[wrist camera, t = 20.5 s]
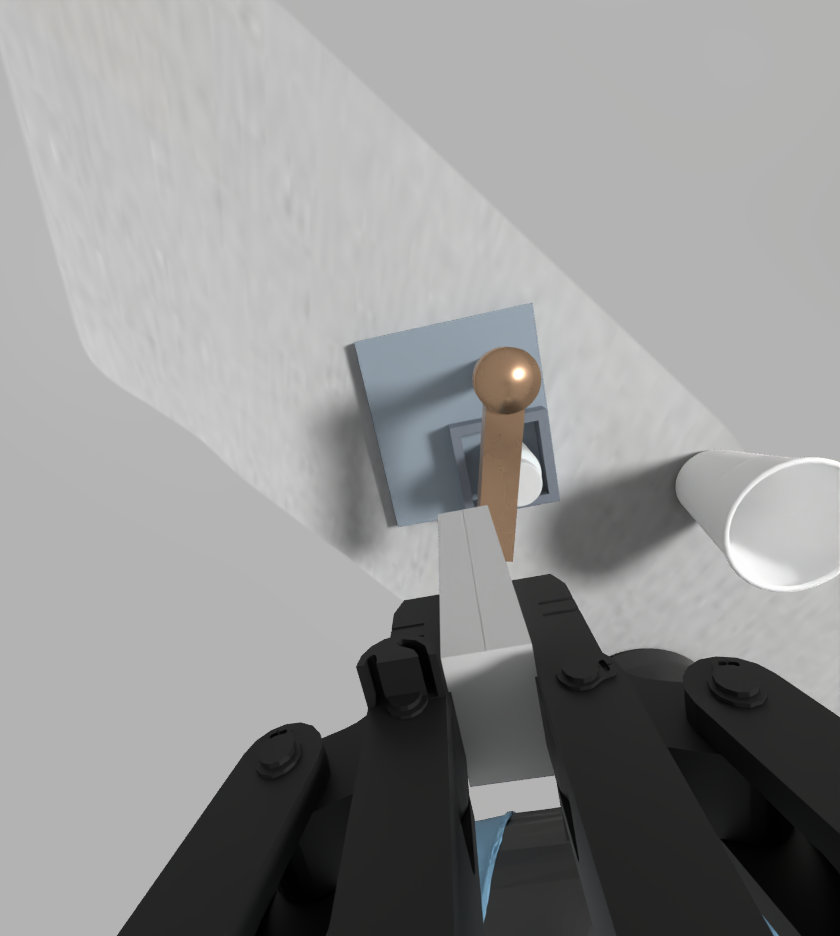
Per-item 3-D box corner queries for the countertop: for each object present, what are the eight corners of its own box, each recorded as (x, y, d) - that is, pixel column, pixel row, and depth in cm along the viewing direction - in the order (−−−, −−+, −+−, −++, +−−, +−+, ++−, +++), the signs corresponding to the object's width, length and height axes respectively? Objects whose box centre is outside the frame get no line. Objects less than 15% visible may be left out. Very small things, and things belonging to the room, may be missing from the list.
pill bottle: (487, 488, 42) (498, 520, 35) (473, 443, 41) (481, 466, 34) (534, 474, 42) (556, 503, 34) (521, 428, 41) (541, 448, 33)
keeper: (473, 345, 30) (476, 346, 28) (536, 347, 30) (544, 347, 28) (463, 547, 33) (465, 561, 31) (519, 549, 33) (525, 563, 31)
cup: (686, 551, 44) (765, 617, 34) (631, 471, 42) (697, 514, 32) (783, 491, 42) (900, 541, 32) (731, 404, 41) (836, 427, 30)
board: (556, 493, 43) (591, 537, 34) (398, 523, 44) (389, 573, 35) (530, 303, 39) (561, 291, 29) (356, 341, 40) (331, 342, 30)
